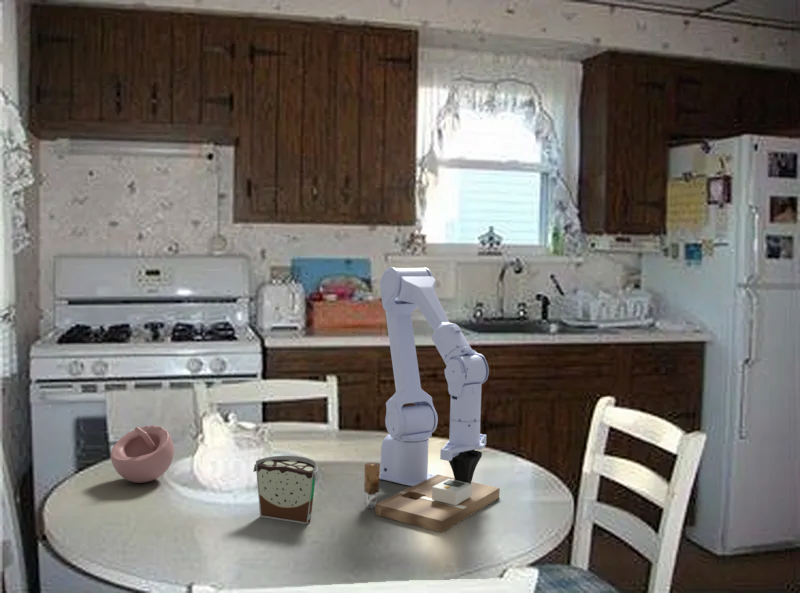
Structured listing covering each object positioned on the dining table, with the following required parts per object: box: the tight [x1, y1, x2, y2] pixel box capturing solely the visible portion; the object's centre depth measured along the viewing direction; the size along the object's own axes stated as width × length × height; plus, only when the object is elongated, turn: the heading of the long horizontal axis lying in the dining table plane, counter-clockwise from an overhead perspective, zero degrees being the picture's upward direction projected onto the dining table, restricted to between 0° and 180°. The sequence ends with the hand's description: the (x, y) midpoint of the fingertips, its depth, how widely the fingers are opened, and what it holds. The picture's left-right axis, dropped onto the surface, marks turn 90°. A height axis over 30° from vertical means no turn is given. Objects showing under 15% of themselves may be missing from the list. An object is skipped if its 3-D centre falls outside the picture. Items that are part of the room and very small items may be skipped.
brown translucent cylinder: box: [363, 461, 381, 509], centre depth 143 cm, size 3×3×8 cm
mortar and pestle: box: [110, 425, 175, 484], centre depth 154 cm, size 12×12×11 cm
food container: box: [253, 455, 320, 525], centre depth 138 cm, size 12×6×10 cm, turn 71°
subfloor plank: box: [374, 474, 500, 533], centre depth 144 cm, size 14×22×2 cm, turn 147°
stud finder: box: [432, 479, 472, 505], centre depth 142 cm, size 5×6×3 cm
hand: (462, 489), depth 145 cm, fingers closed
